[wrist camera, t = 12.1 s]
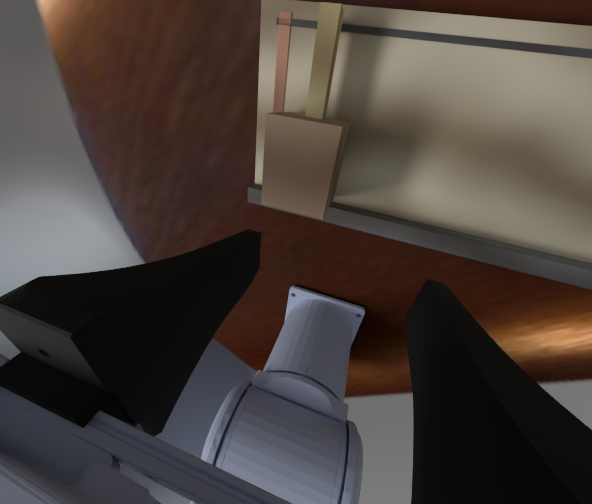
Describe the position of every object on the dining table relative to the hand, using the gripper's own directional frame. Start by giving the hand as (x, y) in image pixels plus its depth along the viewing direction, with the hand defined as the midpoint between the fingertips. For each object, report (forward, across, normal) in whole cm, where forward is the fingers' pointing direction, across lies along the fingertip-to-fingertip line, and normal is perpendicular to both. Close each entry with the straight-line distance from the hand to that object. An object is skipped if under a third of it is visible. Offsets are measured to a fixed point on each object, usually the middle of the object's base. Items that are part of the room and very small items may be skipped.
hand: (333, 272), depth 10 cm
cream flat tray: (+10, -6, -4) cm, 13 cm away
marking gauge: (+9, +4, -5) cm, 11 cm away
